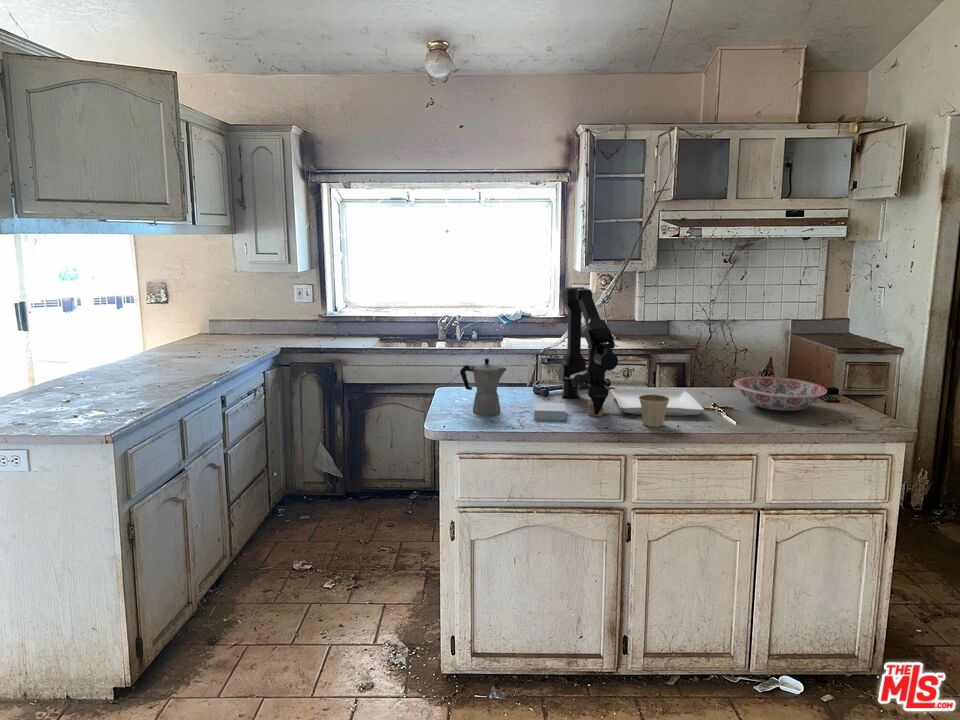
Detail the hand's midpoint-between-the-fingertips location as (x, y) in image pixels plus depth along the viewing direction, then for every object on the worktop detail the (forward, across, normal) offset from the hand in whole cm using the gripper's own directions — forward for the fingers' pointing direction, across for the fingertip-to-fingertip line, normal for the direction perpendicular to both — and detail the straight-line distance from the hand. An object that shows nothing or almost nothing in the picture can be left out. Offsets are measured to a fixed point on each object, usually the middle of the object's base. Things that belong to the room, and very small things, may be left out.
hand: (595, 410), depth 227 cm
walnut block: (+1, 0, 0) cm, 1 cm away
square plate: (+2, -11, +21) cm, 24 cm away
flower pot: (+1, +11, +17) cm, 20 cm away
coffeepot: (+1, +1, -37) cm, 37 cm away
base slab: (+1, +4, -15) cm, 16 cm away
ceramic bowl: (+1, -14, +63) cm, 65 cm away
